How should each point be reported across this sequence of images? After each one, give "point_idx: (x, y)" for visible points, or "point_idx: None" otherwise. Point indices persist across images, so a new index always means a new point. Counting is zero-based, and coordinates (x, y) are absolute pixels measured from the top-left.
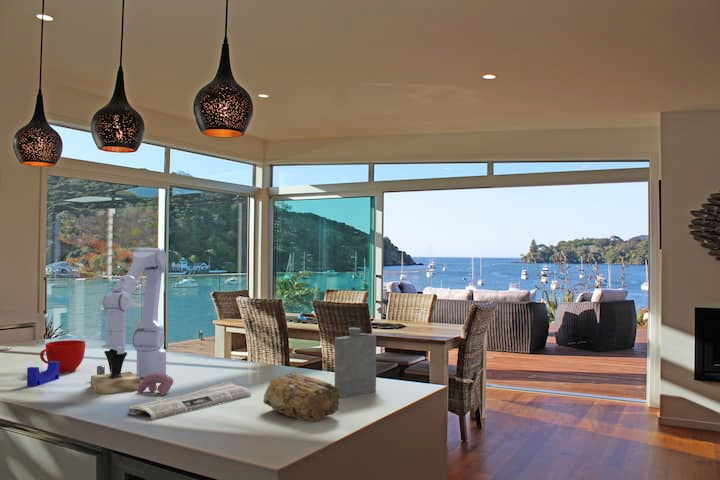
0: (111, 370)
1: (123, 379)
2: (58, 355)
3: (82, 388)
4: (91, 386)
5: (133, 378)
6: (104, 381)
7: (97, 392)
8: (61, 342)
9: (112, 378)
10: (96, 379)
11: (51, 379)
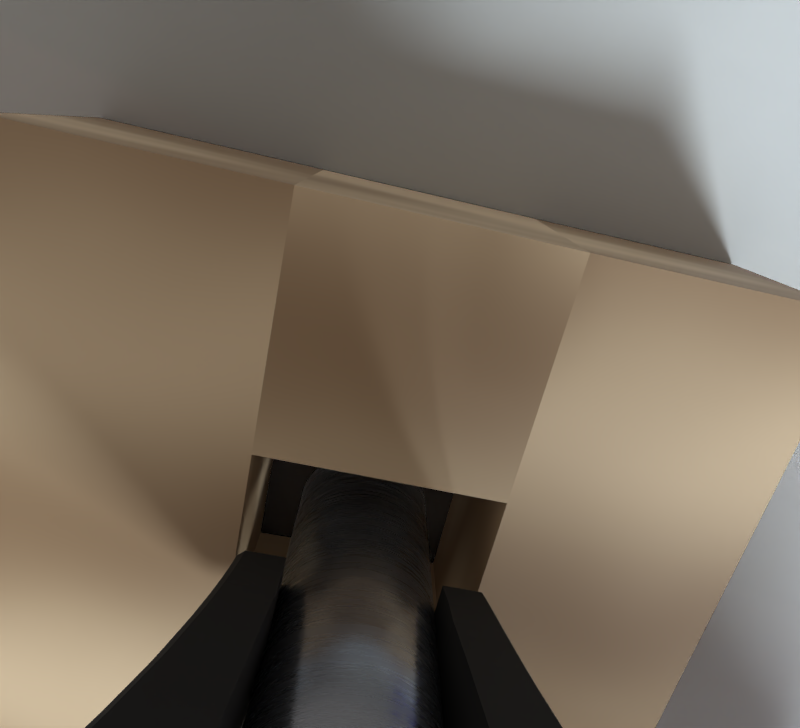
0: (328, 616)
1: (8, 581)
2: None
3: (741, 109)
4: (691, 256)
5: (4, 712)
6: (7, 249)
7: (210, 143)
8: None
9: (233, 491)
10: (357, 218)
11: None
